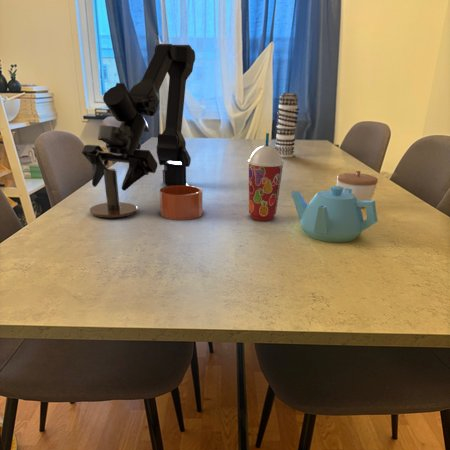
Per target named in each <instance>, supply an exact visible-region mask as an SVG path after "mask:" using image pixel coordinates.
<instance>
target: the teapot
mask: <svg viewBox="0 0 450 450" xmlns="http://www.w3.org/2000/svg"><path fill="white" fill-rule="evenodd" d="M329 189H330V190H328V189H327V190H320V191H318V192H316V194H315V195H314V196H313V197H312V198H311V200H310V201H309V203H307V202H306V201H305V199H304V198H303V195H302V193H301V192H300V191H298V190H297V191H296V190H293V191H291V192H290V193H291V197H292V200H293V203H294V206H295V209H296V212H297V215H298V219H299V221H300V228H301V229H302V230H303V232H304V233H305V234H306V236H308V237H310V238H311V239H315V240H317V241H321V242H327V243H347V242H352V241H353V240H355V239H356V238H358V236H360V235H361V234H362V233H363V231H365V230H367V229H369V228H370V227H372V226H373V225H375V224H376V223H378V221H379V220H378V213H377V206H376V200H374V199H371V200H359V201H357V199H356V197H355V196H354V195H353V194H351V192H352V189H348V188H347V189H345V190H344V192H343V189H344V188H343V187H341V186H337V185H331V186H330V188H329ZM360 207H362V208H365V213H366V214H365V215H366V217H365V218H366V219H364V214H363V211H362V208H360Z"/></svg>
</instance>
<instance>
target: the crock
mask: <svg viewBox="0 0 450 450" xmlns="http://www.w3.org/2000/svg"><path fill="white" fill-rule="evenodd" d="M158 193H159V211H160V215H161V216H162V217H163V218H166V219H168V220H169V219H170V220H176V221H177V220H178V221H181V220H183V221H184V220H185V221H186V220H194V219H197V218H200V217H202V215H203V188H200V187H199V186H195V185H189V184H188V185H173V186H163V187H161V188H160V189H159V191H158Z"/></svg>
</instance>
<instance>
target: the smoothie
mask: <svg viewBox="0 0 450 450" xmlns="http://www.w3.org/2000/svg"><path fill="white" fill-rule="evenodd" d="M269 139H270V133H269V132H266V133H265V144H264V145H261V146H259V147H257V148H255V150H254V151H253V152H252V154H251V155H250V158H249V159H248V160H247V161H248V163H247V164H248V213H249V214H250V218H251V219H253V220H256V221H260V222H261V221H262V222H268V221H272V220H273V219H274V218H275V215H276V214H277V210H278V202H279V195H280V190H281V189H280V187H281V181H282V175H283V166H284V161H283V160H282V157H281V156H280V154H279V152H278V151H277V150H276V149H275V147H273V146H271V145H269Z"/></svg>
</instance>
